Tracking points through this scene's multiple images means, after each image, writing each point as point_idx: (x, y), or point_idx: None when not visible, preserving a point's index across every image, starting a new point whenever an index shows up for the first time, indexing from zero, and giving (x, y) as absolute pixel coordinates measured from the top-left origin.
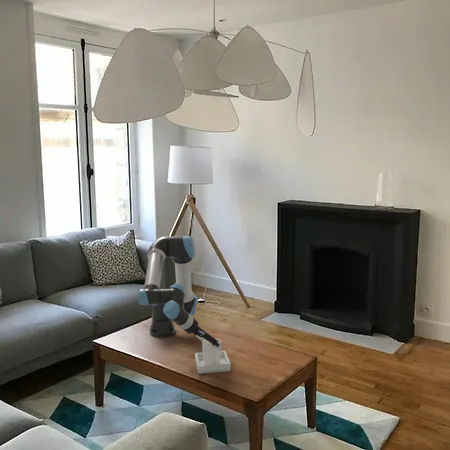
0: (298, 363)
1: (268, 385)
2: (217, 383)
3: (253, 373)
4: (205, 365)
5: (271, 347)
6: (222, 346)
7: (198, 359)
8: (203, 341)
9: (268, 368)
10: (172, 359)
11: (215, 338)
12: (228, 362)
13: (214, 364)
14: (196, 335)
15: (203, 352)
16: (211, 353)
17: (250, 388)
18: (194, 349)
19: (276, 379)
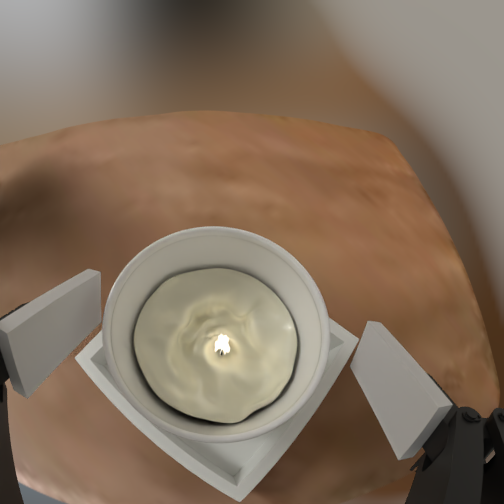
0: (404, 171)
1: (474, 323)
2: (378, 471)
3: (405, 294)
4: (265, 466)
5: (282, 124)
6: (381, 329)
7: (155, 428)
8: (113, 345)
9: (398, 232)
10: (12, 410)
11: (193, 233)
12: (338, 334)
13: (300, 416)
14: (20, 387)
15: (185, 419)
16: (272, 405)
17: (466, 382)
18: (36, 266)
19: (458, 277)
